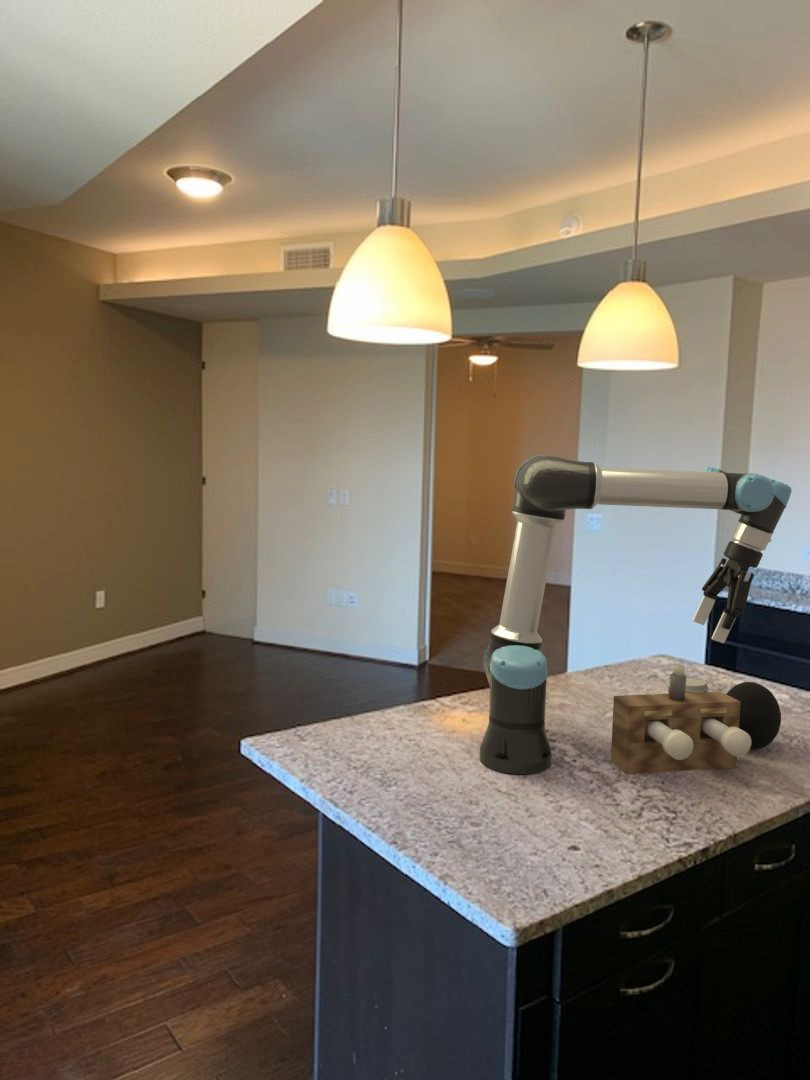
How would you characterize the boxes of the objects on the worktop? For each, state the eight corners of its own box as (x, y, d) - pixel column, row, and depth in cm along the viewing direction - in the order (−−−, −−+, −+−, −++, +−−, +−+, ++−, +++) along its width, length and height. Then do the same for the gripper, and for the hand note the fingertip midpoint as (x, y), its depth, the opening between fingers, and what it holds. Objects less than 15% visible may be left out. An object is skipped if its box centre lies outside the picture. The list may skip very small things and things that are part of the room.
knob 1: (667, 760, 150) (669, 734, 149) (630, 732, 165) (631, 708, 164) (692, 759, 151) (694, 733, 150) (652, 731, 166) (654, 707, 165)
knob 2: (726, 757, 152) (728, 731, 152) (684, 730, 167) (685, 706, 167) (750, 755, 153) (752, 730, 153) (706, 728, 168) (707, 705, 168)
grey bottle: (673, 701, 161) (675, 668, 161) (665, 696, 164) (667, 664, 164) (687, 700, 162) (690, 667, 161) (679, 696, 165) (681, 663, 164)
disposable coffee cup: (698, 739, 180) (702, 689, 179) (658, 730, 186) (660, 681, 184) (710, 728, 187) (714, 680, 186) (671, 720, 193) (674, 672, 192)
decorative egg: (766, 762, 167) (771, 694, 165) (709, 747, 175) (714, 682, 174) (786, 748, 176) (791, 683, 174) (731, 734, 184) (735, 672, 182)
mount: (626, 774, 159) (630, 706, 157) (610, 760, 166) (613, 695, 164) (736, 768, 163) (741, 702, 162) (716, 754, 171) (720, 691, 169)
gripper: (786, 563, 161) (743, 655, 165) (742, 541, 185) (705, 621, 189) (752, 551, 161) (709, 643, 165) (712, 530, 185) (676, 610, 189)
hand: (707, 631), depth 177 cm, fingers open, 13 cm apart
